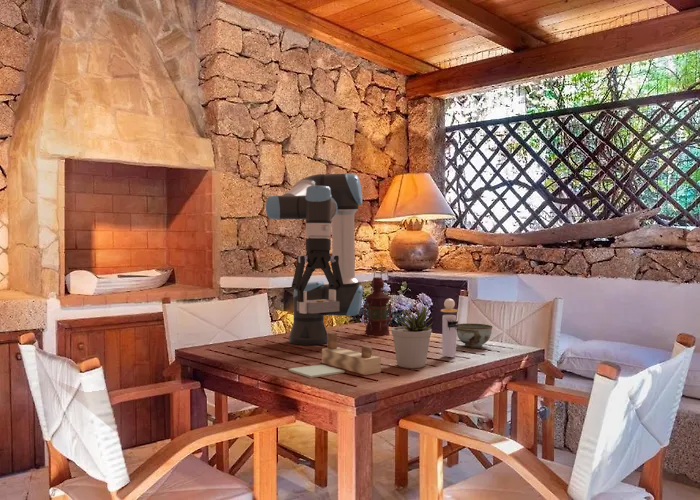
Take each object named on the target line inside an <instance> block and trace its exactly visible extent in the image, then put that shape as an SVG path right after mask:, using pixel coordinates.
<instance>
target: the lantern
mask: <svg viewBox="0 0 700 500" xmlns="http://www.w3.org/2000/svg"><path fill="white" fill-rule="evenodd" d="M375 265H376V266H377V265H380V266H381V269H380V276H377V277H375V275H376V274H375V269H374V268H375ZM372 270H373V278H372V280H371V282H370V285H371V287H372V289H371V293H370V294H368V295H365V296H364V299H366V301H365V302H363V307H362V308H363V323H364V326H365V332H364V335H366V334H367V335H366V336H369V335H374V336H373V337H382V336H383V335H386V336H390V330H389V329H390V327H389V326H390V324H391V323H392V307H393V306H392V302H391V301H389V300H390V299H391V296H388V295H387V294H386V293H384V292H383V291H384V285H385V282H384V279H383V277H382V272H383V263H380V262H379V263H374V264H373V266H372ZM366 309H367V310H368V311H367V310H366ZM387 312H388V314H387ZM387 322H388V323H387ZM383 337H384V336H383Z"/></svg>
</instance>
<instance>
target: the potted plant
mask: <svg viewBox="0 0 700 500" xmlns="http://www.w3.org/2000/svg"><path fill="white" fill-rule="evenodd" d="M428 305H429V304H428V303H425V304H424V307H423V304H421V312H419V309H418V308H417V307H415V306H414V304H413V305H412V306H413V307H414V309H415V311H416V316H417V317H416V316H415V314H413V313H412V312H410V311H408V310H407V309H403V311H404V312H403V311H401V313H402V314H403V315H406V316H403V315H400V314H398V313H396V315H397V316H398V317H400V318H402V319H403V320H404V321H405V322H406V323H408V324H406V323H405V322H404V321H401V320H399V319H398V320H397V322H399V323H401V324H403V325H404V326H396V327H392V328H391V334H392V340H393V344H394V351H395V359H396V363H397V366H399V367H401V368H406V369H420V368H423V367H425V366H426V363H427V358H428V352H429V348H430V347H429V346H430V340H431V336H432V330H433V329H432V324H433V323H434V320H433V321H432V323H431V324H429V325H427V323H428V322H429V321H430V320H431V319H432V318H433V317H432V316H431V317H430V318H429V317H427V316H428V314H429V311H430V308H431V307H429V308H428ZM427 309H428V310H427ZM426 319H427V320H426ZM425 320H426V321H425Z"/></svg>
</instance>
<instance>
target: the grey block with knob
mask: <svg viewBox="0 0 700 500" xmlns="http://www.w3.org/2000/svg"><path fill="white" fill-rule="evenodd" d="M297 311H299V302H298V301H297ZM337 311H339V301H333V300H325V299H321V300H307V313H312V314H313V313H325V312H337Z"/></svg>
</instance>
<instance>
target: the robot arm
mask: <svg viewBox="0 0 700 500" xmlns="http://www.w3.org/2000/svg"><path fill="white" fill-rule="evenodd" d="M362 205H363V191H362V185H361V181H360V178H359V175H357V174H354V173H326V174H323V173H321V174H320V173H319V174H313V175H310V176H307V177H305V178H302V179H300V180H298V181H296V182H295V183H294V185H293V186H292V188H291V189H290V190H287V192H284V193H283V194H282V195H277V194H275V195H269V196H268V197H267V199H266V201H265V212H266V213H265V214H266V216H267V217H268V219H271V220H279V221H280V220H305V237H307V238H305V251H306V254H305V255H297V257H296V267H295V270H294V274H293V275H294V276H293V279H292V282H291V289H293V296H292V298H293V322H292V326H291V329H290V333H289V335H288V343H289V344H291V345H292V344H293V345H297V346H298V345H300V346H313V345H314V346H315V345H316V346H317V345H324V344H327V339H328V332H327V329H326V325H325V323H324V322H325V321H324V320H325V319H324V316H336V317H337V316H341V317H342V316H343V317H344V316H345V317H351V316H353V317H355V316H357V315H358V314H359V313H360V310H361V307H362V301H363V293H364V292H363V289H364V288H363V287H364V286H363V285H360V282H359V279H358V278H357V277H356V276H355V275H356V272H355V271H356V268H355V264H356V261H355V259H356V258H355V252H356V250H355V248H356V247H355V241H356V240H355V239H356V238H355V233H356V232H355V214H356V213H357V212H358V211H359V206H362ZM330 237H331V238H330ZM331 250H332V251H331ZM330 252H331V253H330ZM306 263H307V264H306ZM318 269H319V270H321V271H323V274H324V277H325V278H326V281H327V282H328V285H326V284H325V283H324V281H322V280H320V281H311V282H309V281H310V279H311V277H312V274H313V273H314V272H315V270H318ZM321 299H325V300H333V301H339V311H337V312H325V313H313V314H312V313H307V300H321ZM297 301H298V302H299V311H297Z"/></svg>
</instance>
